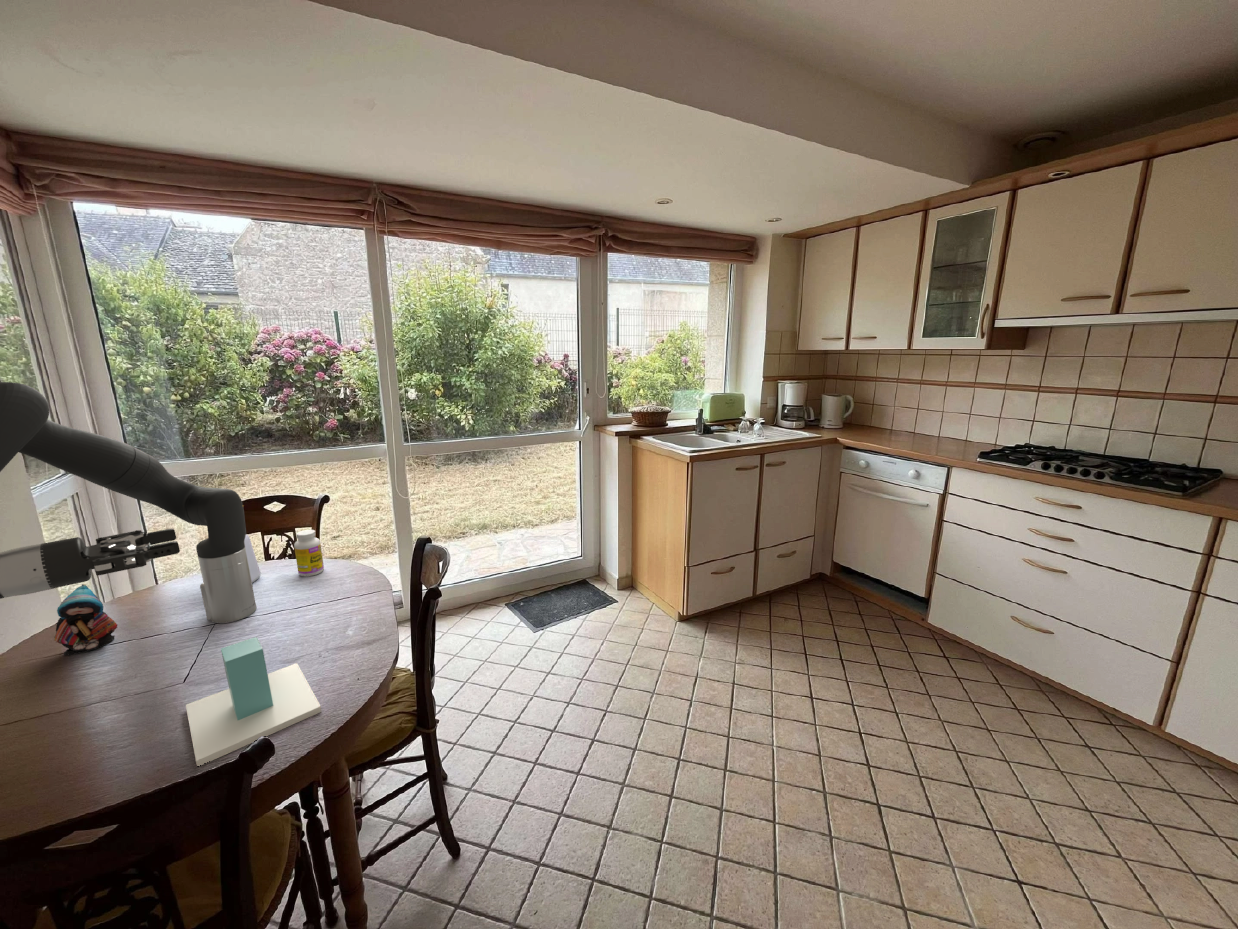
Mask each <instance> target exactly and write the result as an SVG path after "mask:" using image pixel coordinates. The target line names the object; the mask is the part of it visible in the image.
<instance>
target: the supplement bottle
mask: <svg viewBox="0 0 1238 929" xmlns="http://www.w3.org/2000/svg"><path fill="white" fill-rule="evenodd" d="M296 538H297V540H296V541H295V542H294V544H293V546H294V553H295V559H296V560H295V561H296V566H297V568H296V569H297V573H298V575H299V576H301V577H314V576H317V575H319V574H320V573H322V572H323V571H324V569H325V566H324V559H323V552H322V545H321V544H322V543H321V540H320V539H319V538H317V537H316V530H314V529H305V530H300V531H298V532H297V533H296Z"/></svg>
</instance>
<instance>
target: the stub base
mask: <svg viewBox="0 0 1238 929" xmlns="http://www.w3.org/2000/svg"><path fill="white" fill-rule="evenodd" d="M267 674H268V679H269V685H270V690H271V695H272V701H273V706H271V707H269V708H267V709H264V710H262V711H259V712H257V713H255V714H252V715H250V716H247V717H245V718H243V719H240V720H237V717H236V714H235V711H234V708H233V704H232V700H231V695H230V690H229V688H227V689H224V690H222V691H219V692H216V693H214V694H211V695H208V696H205V697H203V698H201V699H200V698H199V699H198V700H195V701H192V702H190V703H187V704H185V710H186V714H187V719H188V723H189V724H188V725H189V730H190V735H191V741H192V746H193V753H194V758H195V759H194V760H195V763H196V767H197V766H199V767H200V765H201V766H203V765H205V764H204V763H206V764H208V763H210V762H212V761H215V760H216V759H218V758H221V757H224V756H225V755H228V754H229V753H233V752H234V751H236V750H239V749H241V748H243V747H246V746H249V745H250V744H253V743H255V742H256V741H255V740H257V739H258V738H259V737H261V736H266V737H268V736H270V735H272V734H275V733H277V732H279V731H281V730H284V729H286V728H288V727H291V726H292V725H295V724H297V723H299V722H301V721H304V720H306V719H309V718H311V717H313V716H315V715H317V714H320V713H322V711H323V710H322V707H321V704H320V702H319V700H318V699H317V697H316V695H315V694H314V692H313V689H312V687H311V686H310V684H309V682H308V681H307V679H306V676H305V675H304V673H303V671H302V670H301V668H300V666H299V664H298V662H296V663H293V664H290V665H288V666H285V667H283V668H279V669H277V670H275V671H272V672H269V673H267ZM254 741H255V742H254ZM257 741H258V740H257ZM252 742H253V743H252ZM209 761H210V762H209ZM207 762H208V763H207Z"/></svg>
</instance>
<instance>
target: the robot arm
mask: <svg viewBox="0 0 1238 929" xmlns="http://www.w3.org/2000/svg"><path fill="white" fill-rule="evenodd" d="M49 416H50V405H49V402H48V400H47V399H46V398H45V396H44V395H43V393H41V392H40V391H39V390H37V389H36V388H34V387H32V386H29V385H27V384H24V383H20V382H10V381H0V473H1V472H2V471H3V470H4V469H5V467H6V466H7V465H8V464H9V463H10V462H11V461H12V459H14V457H15V456H16V455H17V454H18V453H20V454H23V455H25V456H28V457H31V458H33V459H36V460H39V461H41V462H43V463H46V464H47V465H50V466H52V467H54V468H56V469H59V470H61V471H64V472H66V473H68V474H72V475H74V476H76V477H79V478H81V479H83V480H86V481H88V482H90V483H92V484H95V485H97V486H100V487H102V488H104V489H108V490H110V491H112V492H114V493H118V494H121V495H124V496H126V497H129V498H132V499H134V500H138V501H141V502H144V503H148V504H150V505H154V506H156V507H158V508H160V509H161V510H164V511H166V512H168V513H169V514H171V515H173V516H175V517H176V518H178V519H180V520H182V521H184V522H186V523H188V524H191V525H195V526H202V527H203V526H205V527H207V538H205V539H203V540H201V541H199V542H198V543H197V544H196V547H195V550H196V554H197V559H198V563H199V564H198V565H199V568H200V572H201V577H202V583H201V584H200V585H199V587H200V588H199V589H200V592H201V596H202V597H201V598H202V602H203V605H204V611H205V616H206V620H208V621H211V622H212V623H215V624H226V623H227V624H228V623H233V622H236V621H240V620H242V619H246V618H247V617H249V616H251V615H252V614H254V612H256V610H257V603H256V599H255V598H256V597H255V592H254V588H253V583H252V581H251V576H250V570H249V565H248V560H247V555H246V549H245V544H244V540H245V536H246V535H247V526H246V518H245V510H244V503H243V501H242V498H241V496H240V495H239V494H238V492H236V491H235V490H233V489H230V488H221V487H218V488H217V487H205V486H200V485H195V484H193V483H191V482H188V481H184V480H182V479H179V478H178V477H176V476H173V475H172V474H171V473H170V472H169V471H168V469H166V468H165V467H164V465H163V464H162V463H161V462H160V461H159V460H158V459H157V458H155V457H153V456H152V455H150V454H149V453H147V452H145V451H142V450H140V449H138V448H136V447H134V446H132V445H131V444H128V443H126V442H123V441H120V440H118V439H115V438H111V437H108V436H107V435H106V436H105V435H101V434H98V433H94V432H90V431H86V430H81V429H77V428H74V427H70V426H67V425H63V424H60V423H57V422H55V421H53V420H50V419H49ZM176 539H177V534H176V530H175V529H174V528H167V529H160V530H156V531H151V532H146V531H143V530H140V529H138V530H133V531H127V532H124V533H119V534H112V535H109V536H103V537H98V538H96V539H95V544H93V545H90V546H89V545H88V546H86V545H85V541H84V540H83V538H82V537H79V536H78V537H77V536H76V537H70V538H65V539H60V540H54V541H48V542H43V543H38V544H32V545H26V546H21V547H16V548H13V549H9V550H6V551H5V550H4V551H1V552H0V600H1V599H6V598H11V597H12V598H13V597H18V596H25V595H32V594H36V593H40V592H45V591H49V590H53V589H57V588H58V589H59V588H62V587H66V586H71V585H75V584H79V583H85V582H88V581H90V580H91V578H92V570H94V572H95V574H96V576H103V575H108V574H113V573H117V572H122V571H126V570H131V569H137V568H143V567H145V566H147V565H148V564H147V563H148V562H149V563H150V562H151V561H152V560H155V559H159V558H164V557H168V556H174V555H177V554H179V553H180V549H181V548H180V545H179V542H178V541H177V540H176Z"/></svg>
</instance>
